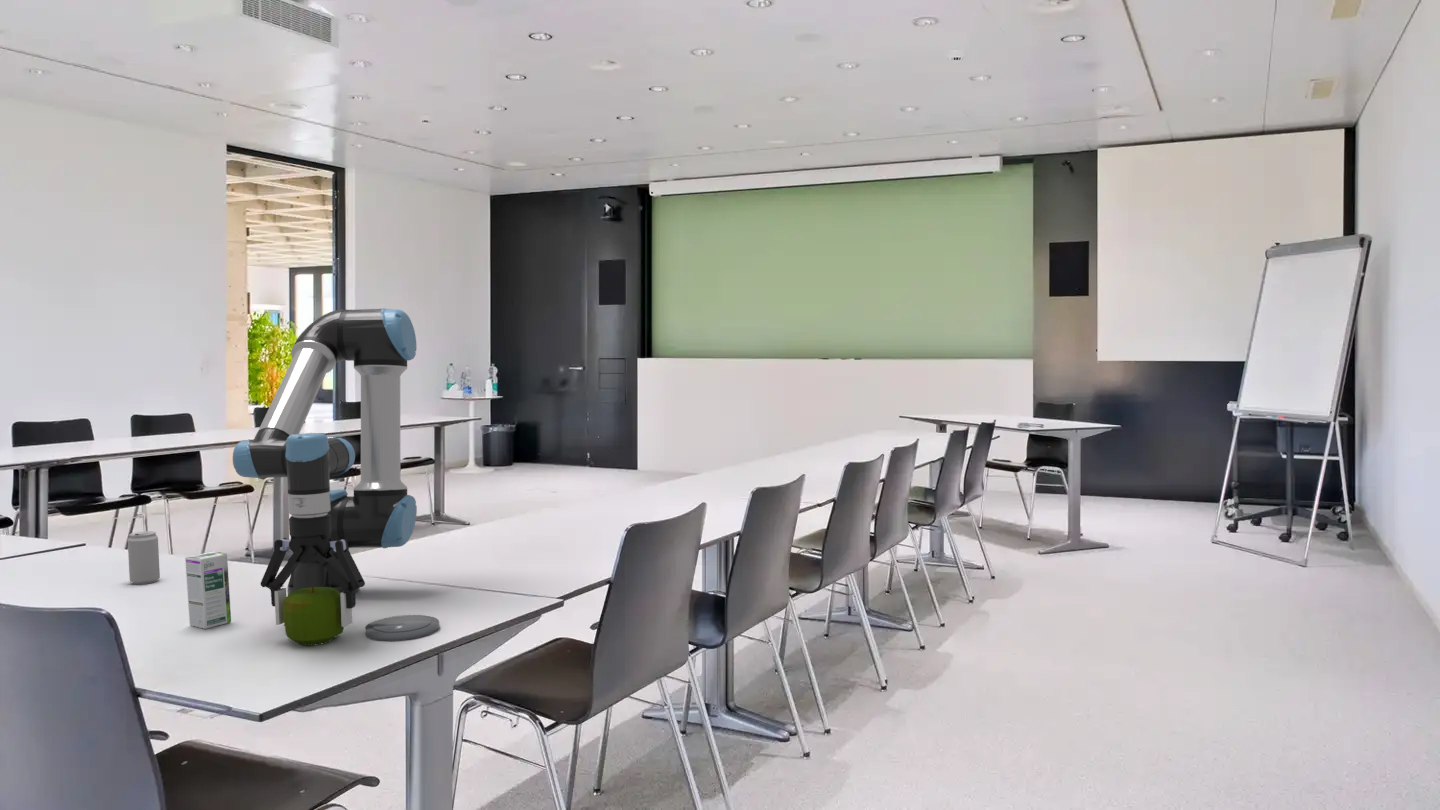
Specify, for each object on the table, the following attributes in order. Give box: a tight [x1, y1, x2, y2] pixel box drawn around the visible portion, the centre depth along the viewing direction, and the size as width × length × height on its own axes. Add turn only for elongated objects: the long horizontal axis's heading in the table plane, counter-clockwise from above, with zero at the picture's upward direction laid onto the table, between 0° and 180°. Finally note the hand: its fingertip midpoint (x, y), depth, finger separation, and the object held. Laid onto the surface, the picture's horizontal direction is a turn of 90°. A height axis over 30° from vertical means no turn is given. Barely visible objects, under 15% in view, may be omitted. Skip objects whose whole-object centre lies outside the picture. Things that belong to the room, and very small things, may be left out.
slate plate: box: [364, 614, 440, 642], centre depth 204 cm, size 14×14×2 cm
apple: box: [282, 586, 345, 646], centre depth 198 cm, size 11×11×11 cm
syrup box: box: [184, 550, 232, 630], centre depth 211 cm, size 6×6×14 cm
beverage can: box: [127, 530, 161, 586], centre depth 249 cm, size 6×6×12 cm
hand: (314, 624), depth 198 cm, fingers open, 13 cm apart
